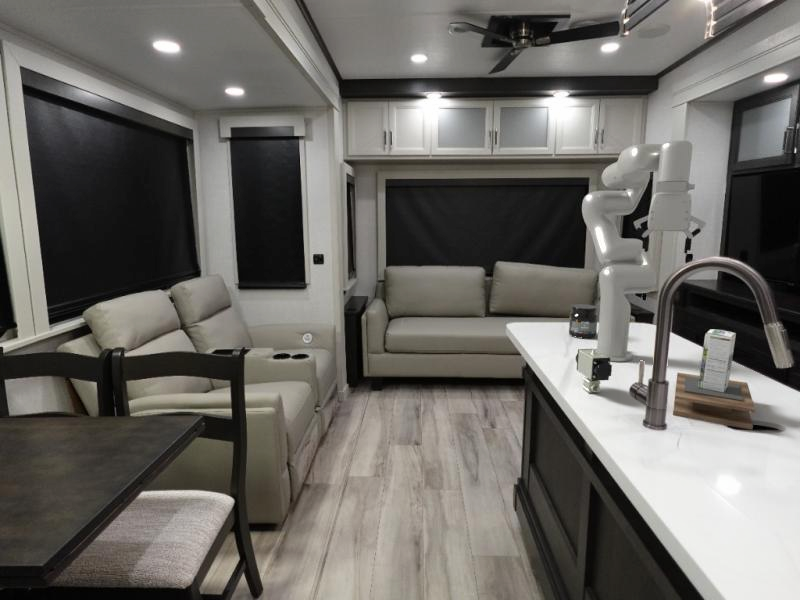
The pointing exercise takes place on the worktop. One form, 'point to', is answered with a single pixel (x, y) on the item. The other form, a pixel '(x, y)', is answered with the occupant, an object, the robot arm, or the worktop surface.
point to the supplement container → (583, 321)
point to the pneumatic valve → (593, 368)
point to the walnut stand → (713, 402)
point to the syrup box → (716, 360)
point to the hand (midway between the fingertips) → (665, 252)
